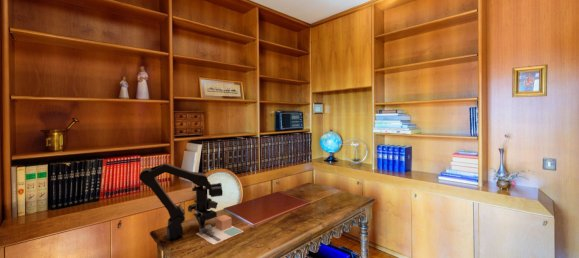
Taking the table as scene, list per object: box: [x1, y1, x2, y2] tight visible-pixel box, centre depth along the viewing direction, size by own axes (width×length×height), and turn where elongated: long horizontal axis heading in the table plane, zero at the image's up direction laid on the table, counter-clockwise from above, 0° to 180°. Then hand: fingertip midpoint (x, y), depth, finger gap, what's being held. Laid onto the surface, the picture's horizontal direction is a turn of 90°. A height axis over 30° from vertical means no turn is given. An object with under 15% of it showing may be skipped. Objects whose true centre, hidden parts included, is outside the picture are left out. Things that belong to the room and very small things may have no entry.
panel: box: [195, 225, 244, 245], centre depth 134 cm, size 18×16×4 cm
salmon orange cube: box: [215, 214, 233, 230], centre depth 140 cm, size 6×6×5 cm
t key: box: [198, 223, 214, 235], centre depth 131 cm, size 8×6×3 cm
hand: (202, 227), depth 135 cm, fingers closed
